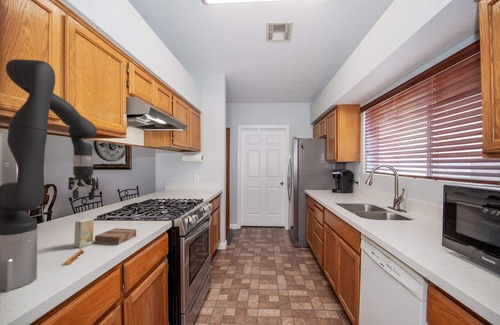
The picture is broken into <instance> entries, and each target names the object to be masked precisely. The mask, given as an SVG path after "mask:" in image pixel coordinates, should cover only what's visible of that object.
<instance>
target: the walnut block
mask: <svg viewBox="0 0 500 325" xmlns="http://www.w3.org/2000/svg"><path fill="white" fill-rule="evenodd" d="M136 237H137V229H134V228H133V229H131V228H117V227H116V228H112V229H109V230H107V231H104V232H102V233H99V234H97V235H95V236H94V244H100V245H110V246H111V245H112V246H114V245H115V246H119V245H121V244H124V243H126V242H127V241H129V240H132V239H134V238H136Z"/></svg>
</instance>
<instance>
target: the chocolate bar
mask: <svg viewBox="0 0 500 325" xmlns="http://www.w3.org/2000/svg"><path fill="white" fill-rule="evenodd" d="M84 253H85V252H84V250H83V248H80V250H78V251H77V252H75V253H74V254H73V255H71V256H70V257H69V258H68V259H66V261H65V262H64V263H63V266H70V265H71V264H72V263H74V262H75V261H76V260H77V259H78V258H79V257H78V256H80V255H81V254H82V255H84ZM82 255H81V256H82ZM81 256H80V257H81ZM77 257H78V258H77ZM76 258H77V259H76ZM75 259H76V260H75ZM74 260H75V261H74ZM73 261H74V262H73Z"/></svg>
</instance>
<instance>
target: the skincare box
mask: <svg viewBox="0 0 500 325" xmlns="http://www.w3.org/2000/svg"><path fill="white" fill-rule="evenodd" d="M94 221H95V220H94V219H93V218H83V219H80V220H75V222H74V243H73V244H74V245H73V247H74V248H79V249H83V248H85V247H88V246H90V245H93V244H94V223H95V222H94Z"/></svg>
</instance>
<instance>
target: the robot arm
mask: <svg viewBox="0 0 500 325" xmlns="http://www.w3.org/2000/svg"><path fill="white" fill-rule="evenodd" d="M5 71H6V74H7V76H8V78H9V79H10V81H12V82H13V83H14V85H16V86H17V87H19V89H22V91H24V92H26V93H27V94H28V97H27V99H26V101H25V102H24V103H23V105H22V106H20V108H19V109H18V110H17V111H16V112H15V113H14V114H13V116H12V117H11V119H10V121H9V123H8V131H7V145H8V148H9V150H10V153H11V154H12V157H13V158H14V160H15V163H16V165H17V177H16V182H13V181H12V182H6V183H3V184H1V185H0V291H2V292H9V291H11V290H14V289H19V288H21V287H22V288H23V287H24V286H27V285H30V284H31V283H33V282H35V281H36V280H37V278H38V220H37V219H35V218H34V217H32V216H31V215H30V214H29V213H28V212H30V211H33V210H36V209H37V208H39V207H40V206H41V204H42V202H43V200H44V197H45V173H44V172H45V170H44V169H45V156H46V155H45V152H46V144H47V138H48V123H49V113H50V111H51V112H52V113H53V114H54V115H55V116H56V117H57V118H58V119H59V120H61V122H63V124H64V125H66V126H68V135H69V137H70V140H71V143H72V146H73V159H72V168H73V169H72V175H73V176H71V177H70V176H69V177H68V190H70V191H71V192H72V199H73V200H78V199H79V198H80V197H79V194H80V193H79V191H80V188H81V187H83V188H85V189H87V191H88V200H89V201H93V200H94V199H95V192H96V191H99V190H100V188H99V185H100V184H99V178H98V177H92V175H94V159H93V145H92V144H91V143H87V142H84V140H83V139H92V138H94V137H96V135H97V133H98V130H97V129H98V128H97V127H96V125H95V124H94V123H93V122H92V121H90V120H89V119H88V118H86V117H85V116H83V115H81V114H80V113H79V111H78V110H77V109H76V108H75V107H74V106H73V105H72V104H71V103H70V102H68V101H67V100H66V99H63V98H62V97H60V96H58V95H57V94H56V93H54V91H55V86H56V74H55V70H54V68H53V67H52V65H51V64H50V63H48V62H46V61H45V60H43V61H42V60H37V59H36V60H35V59H20V58H18V59H17V58H16V59H15V58H14V59H11V60H9V61H7V63H6V66H5Z"/></svg>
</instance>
